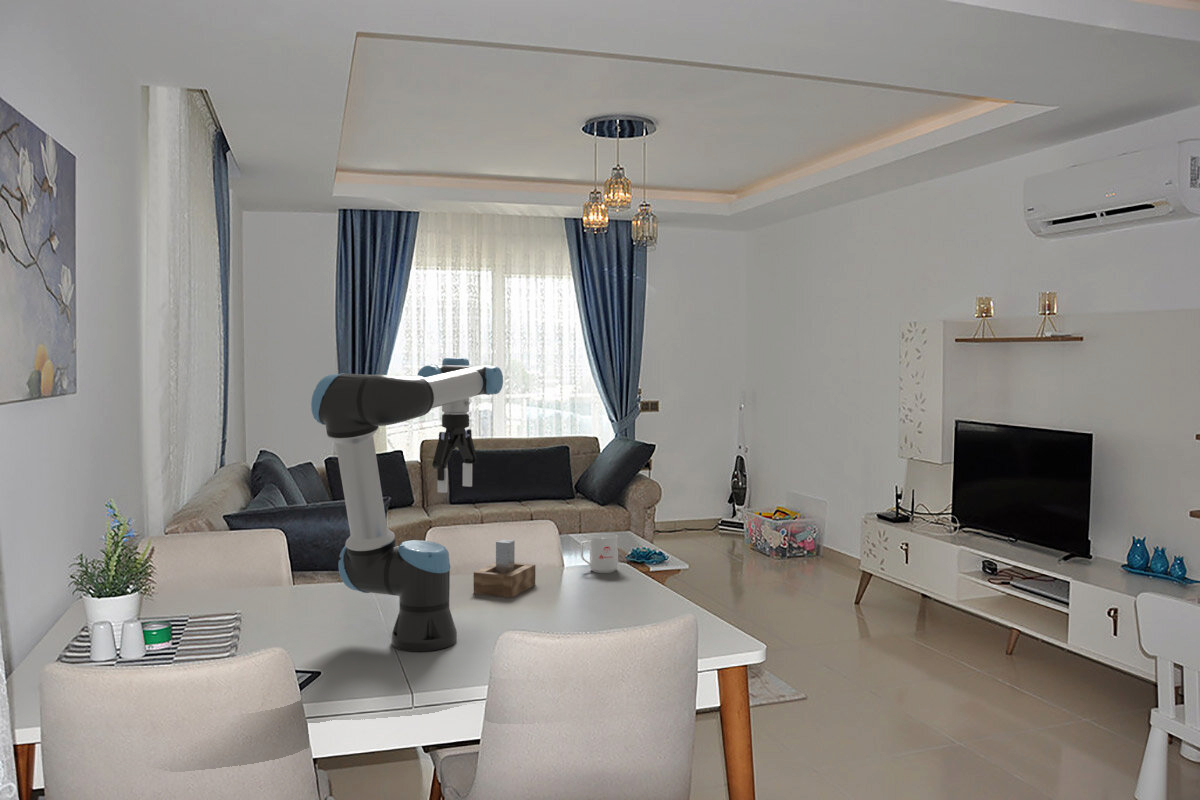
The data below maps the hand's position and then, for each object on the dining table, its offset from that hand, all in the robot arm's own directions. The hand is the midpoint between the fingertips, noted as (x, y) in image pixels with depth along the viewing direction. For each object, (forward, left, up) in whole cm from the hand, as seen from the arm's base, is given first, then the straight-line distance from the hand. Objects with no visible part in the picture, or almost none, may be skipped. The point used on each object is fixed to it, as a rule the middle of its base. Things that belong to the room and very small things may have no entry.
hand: (455, 489), depth 258 cm
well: (+14, -9, -30) cm, 34 cm away
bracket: (+15, -9, -30) cm, 35 cm away
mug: (+46, -26, -31) cm, 61 cm away
